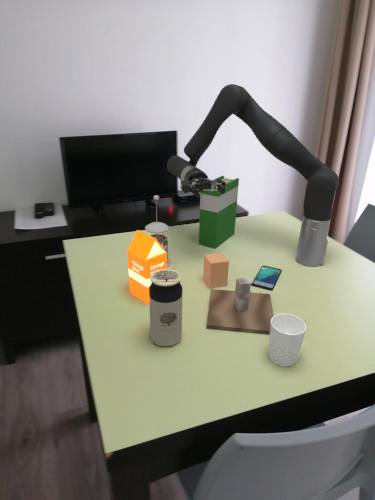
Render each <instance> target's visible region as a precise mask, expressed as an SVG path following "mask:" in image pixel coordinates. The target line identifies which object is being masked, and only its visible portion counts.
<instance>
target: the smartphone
mask: <svg viewBox="0 0 375 500" xmlns="http://www.w3.org/2000/svg"><path fill="white" fill-rule="evenodd" d="M282 272H283V270H282V269H280V268H277V267H273V266H269V265H268V266H267V265H261V267H260V268H259V270H258V272H257V274H256V276H255V277H254V278H253V281H252V282H251V286H252V287H254V288H258V289H262V290H265V291H266V290H267V291H270V292H272V291H274V288H275V287H276V285H277V282H278V281H279V279H280V276H281V274H282Z"/></svg>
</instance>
